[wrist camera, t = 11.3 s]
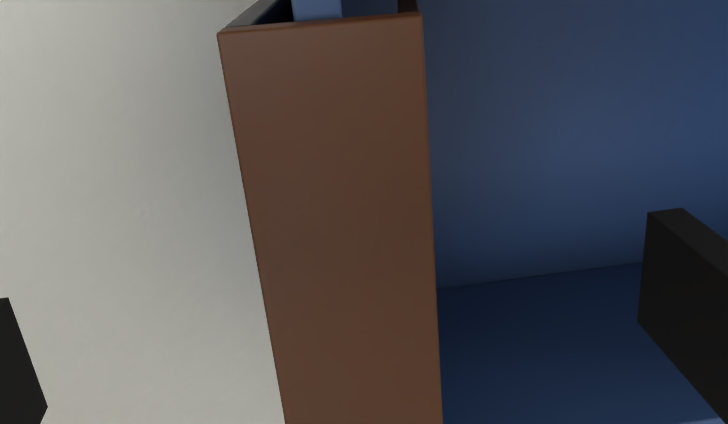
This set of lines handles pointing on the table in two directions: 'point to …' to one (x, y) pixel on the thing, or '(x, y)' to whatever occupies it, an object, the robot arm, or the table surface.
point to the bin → (563, 195)
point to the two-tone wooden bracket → (340, 208)
